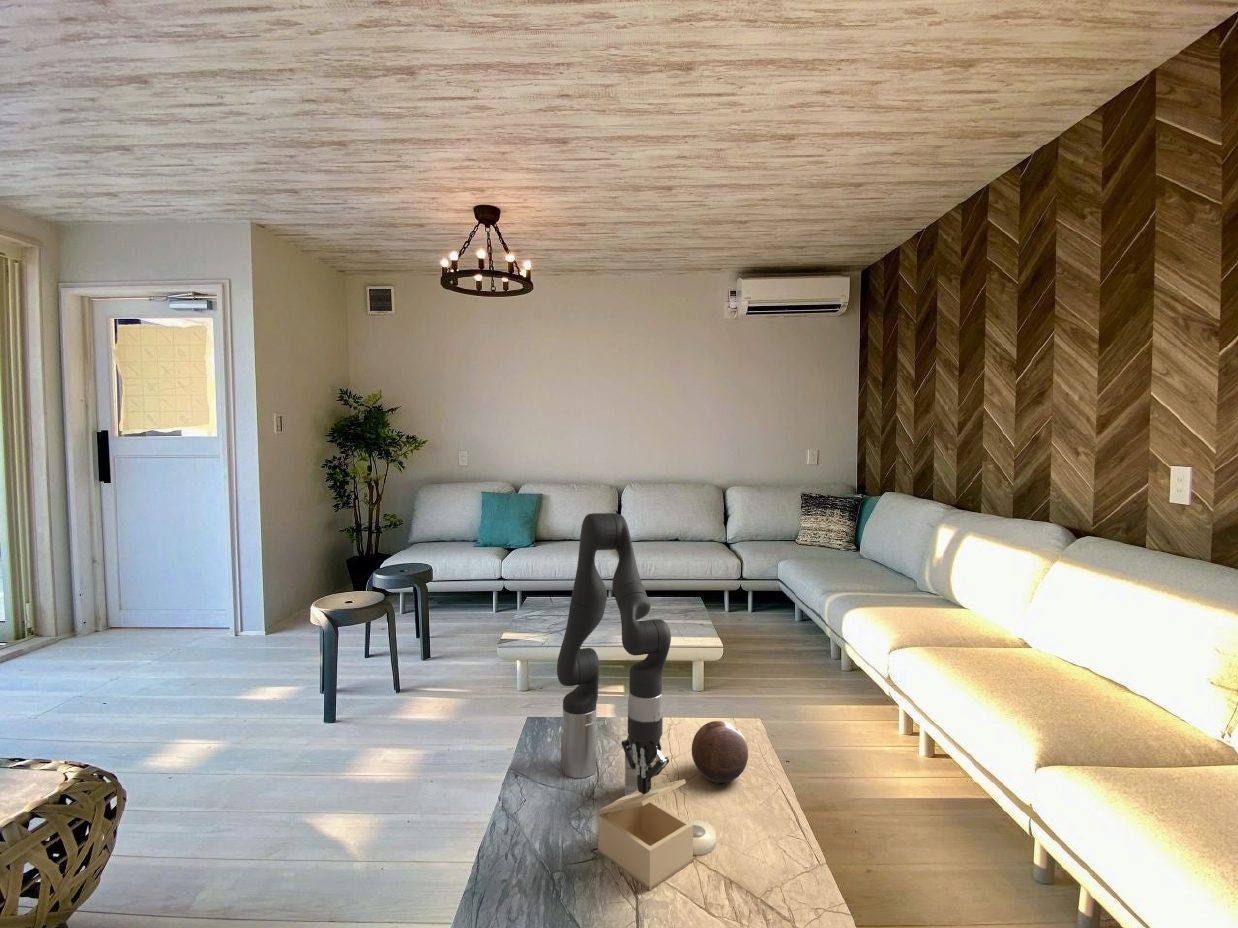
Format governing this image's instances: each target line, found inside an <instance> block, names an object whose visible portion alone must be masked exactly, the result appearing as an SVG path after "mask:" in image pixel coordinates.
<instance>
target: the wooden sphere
mask: <svg viewBox="0 0 1238 928" xmlns="http://www.w3.org/2000/svg"><path fill="white" fill-rule="evenodd" d="M747 744H748V743H747V741H746V739H745V736H744V735H743V733H742V732H741V731H740V730H739V729H738V728H737V727H736V726H735V725H733V724H732V723H729V722H727V721H722V720H714V721H710V722H707V723H706V724H703V725H702V726H701V727H700V728H699V729H698V730H697V731H696V733H695V735H694V736H693V739H692V743H691V757H692V761H693V763H694V765H695V767H696V769H697V771H699V773H700V774H701V775H702V776H704V777H705V778H706V779H707V780H710V781H712V782H715V783H720V784H721V783H729V782H731V781H734V780H736V779H737V778H738V777H740V776H741V774H742V773H744V770H745V769H746V766H747V764H748V760H749V748H748V745H747Z"/></svg>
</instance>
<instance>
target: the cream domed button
mask: <svg viewBox="0 0 1238 928" xmlns="http://www.w3.org/2000/svg"><path fill="white" fill-rule="evenodd" d="M685 820H686V819H685ZM686 821H688V822H689V823H691V824H693V856H703V855H708V854H710V853H712V852H713V851H714V850H715V848H716V846H717V843H716V842H717V841H716V840H717V838H716V837H717V832H716V830H715V827H714V826H713V825H711V824H710V823H708V822H706V821H704V820H702V819H701V820H700V819H687V820H686Z"/></svg>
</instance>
